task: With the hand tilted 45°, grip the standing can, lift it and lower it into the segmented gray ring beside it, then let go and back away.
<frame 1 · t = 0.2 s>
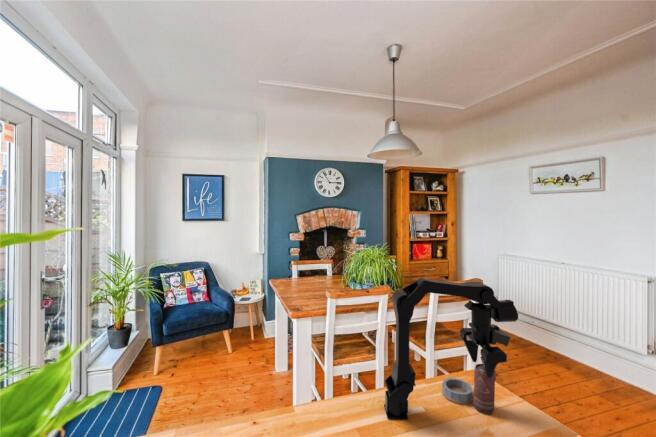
hand: (481, 369, 97), 15 cm above the table, tool pointing down, fingers open, 9 cm apart
can: (484, 409, 99), on the table
segmented gray ring: (457, 395, 106), on the table
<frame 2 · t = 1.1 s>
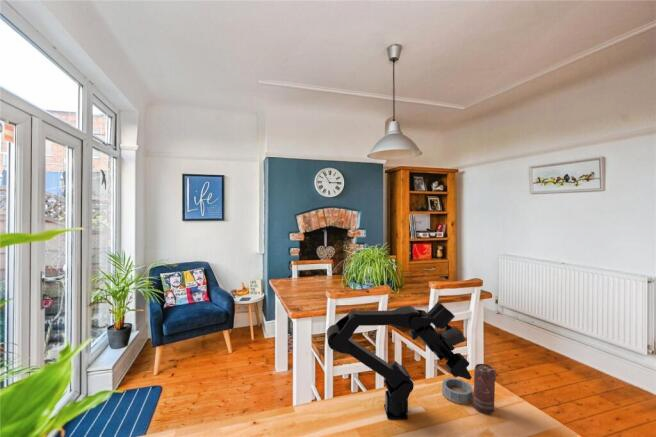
hand: (463, 370, 98), 13 cm above the table, tool tilted 45°, fingers open, 9 cm apart
nothing on the table moved.
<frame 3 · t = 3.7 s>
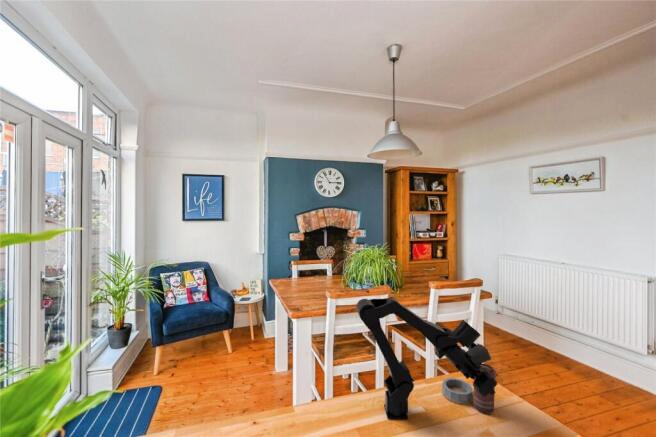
hand: (488, 387, 99), 7 cm above the table, tool tilted 45°, fingers closed on can, 5 cm apart
can: (484, 409, 99), on the table, touching gripper
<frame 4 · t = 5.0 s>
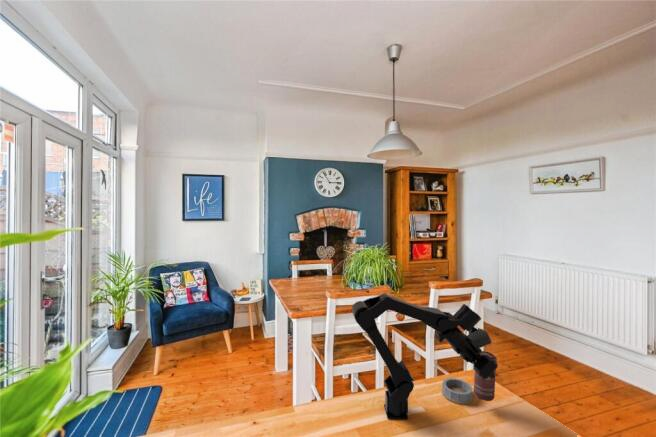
hand: (488, 372, 99), 12 cm above the table, tool tilted 45°, fingers closed on can, 5 cm apart
can: (484, 396, 99), point 4 cm above the table, touching gripper
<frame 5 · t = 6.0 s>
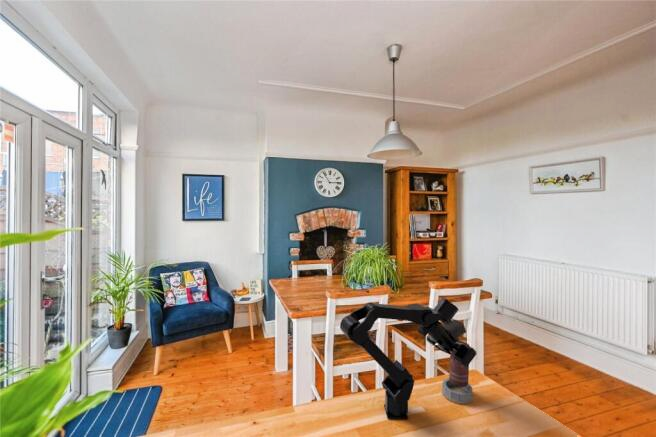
hand: (462, 359, 106), 13 cm above the table, tool tilted 45°, fingers closed on can, 5 cm apart
can: (458, 383, 105), point 5 cm above the table, touching gripper
when the fingers open (9 cm above the table, at t = 7.4 s): can stays where it is, resting on segmented gray ring.
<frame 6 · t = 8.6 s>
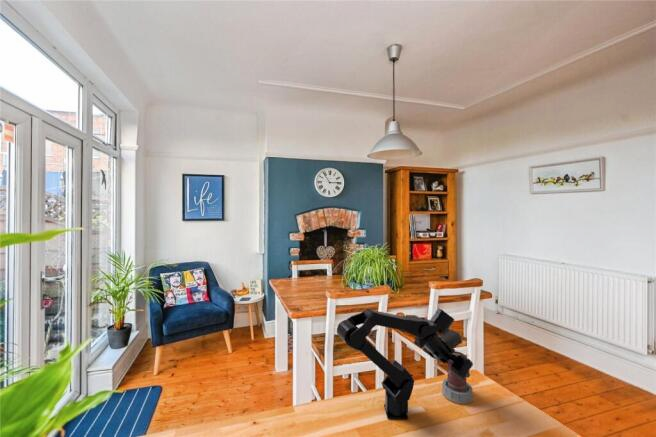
hand: (458, 369, 106), 9 cm above the table, tool tilted 45°, fingers open, 9 cm apart
can: (457, 393, 106), point 1 cm above the table, touching segmented gray ring
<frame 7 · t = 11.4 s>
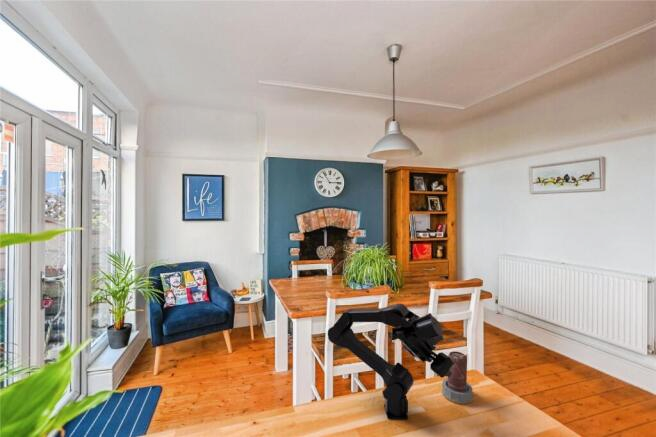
hand: (440, 368, 99), 14 cm above the table, tool tilted 45°, fingers open, 9 cm apart
nothing on the table moved.
at the end: can 0.5 cm off-centre on the segmented gray ring, point 0.8 cm above the segmented gray ring's base; can tilted 0°; the gripper is holding nothing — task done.
